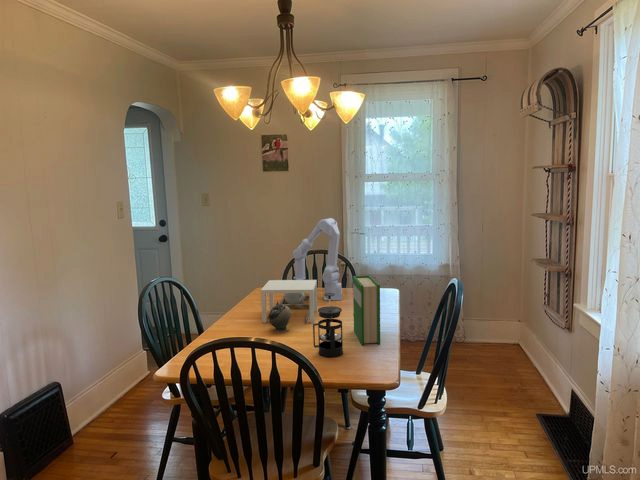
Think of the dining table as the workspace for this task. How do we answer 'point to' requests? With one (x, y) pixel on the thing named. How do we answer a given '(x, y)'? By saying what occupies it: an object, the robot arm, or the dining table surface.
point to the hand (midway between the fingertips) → (300, 292)
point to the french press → (329, 331)
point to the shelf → (289, 287)
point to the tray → (297, 306)
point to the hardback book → (366, 309)
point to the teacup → (294, 298)
